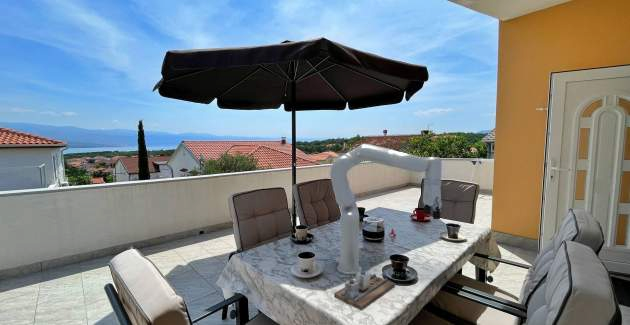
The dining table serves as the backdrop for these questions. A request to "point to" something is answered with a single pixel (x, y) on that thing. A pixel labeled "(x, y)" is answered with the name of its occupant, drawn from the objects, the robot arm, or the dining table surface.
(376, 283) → the bolt plate
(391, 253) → the dining table surface
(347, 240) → the robot arm
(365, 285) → the grey sliding block
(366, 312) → the dining table surface
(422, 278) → the dining table surface
